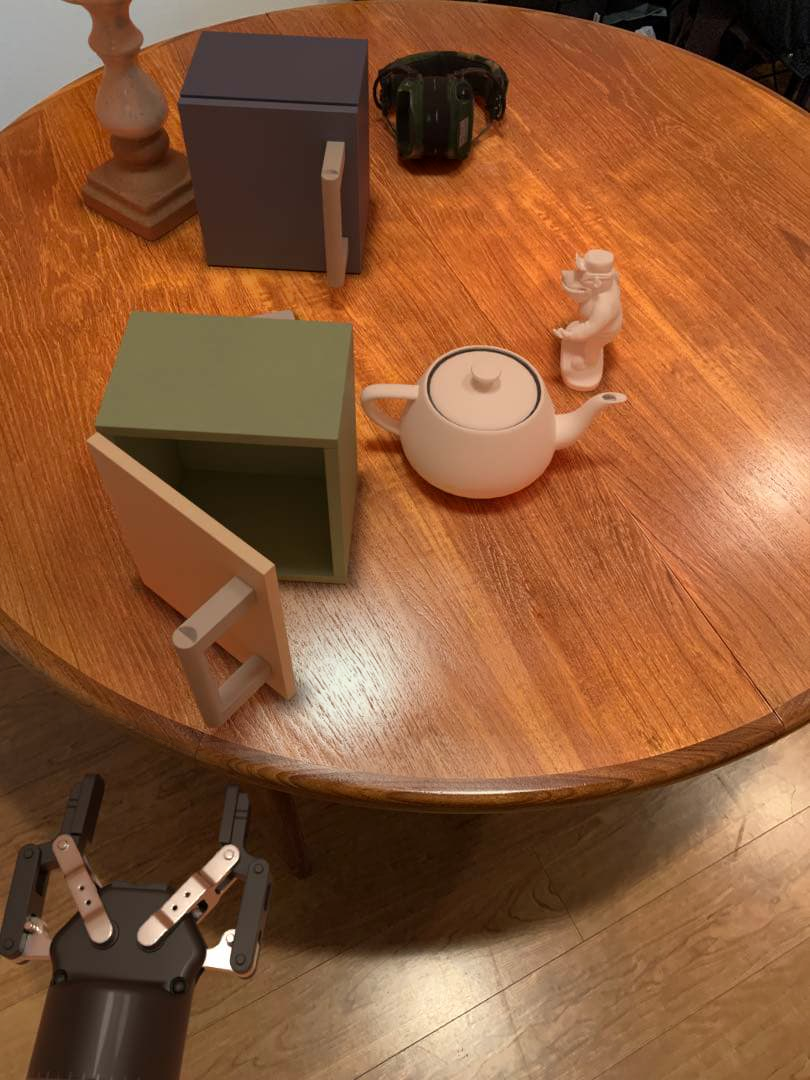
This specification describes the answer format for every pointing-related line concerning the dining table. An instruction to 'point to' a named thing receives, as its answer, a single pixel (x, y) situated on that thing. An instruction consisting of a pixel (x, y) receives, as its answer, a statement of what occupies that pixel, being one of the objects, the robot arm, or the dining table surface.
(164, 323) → the green-topped cabinet
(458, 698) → the dining table surface
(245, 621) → the peach cabinet door
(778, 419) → the dining table surface
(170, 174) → the candle holder
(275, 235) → the dark cabinet door
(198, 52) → the dark purple boxy piece
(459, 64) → the headphones
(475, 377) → the teapot
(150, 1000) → the robot arm
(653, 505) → the dining table surface
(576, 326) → the figurine
